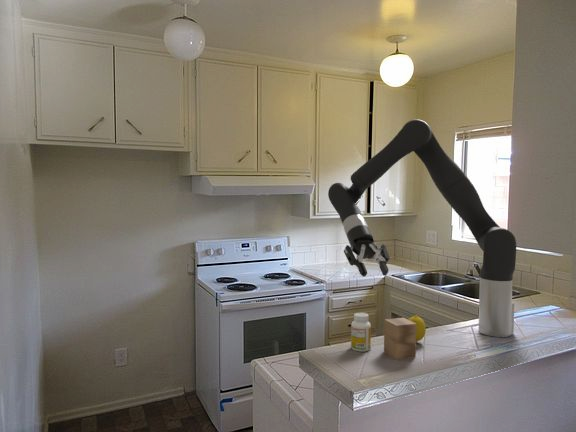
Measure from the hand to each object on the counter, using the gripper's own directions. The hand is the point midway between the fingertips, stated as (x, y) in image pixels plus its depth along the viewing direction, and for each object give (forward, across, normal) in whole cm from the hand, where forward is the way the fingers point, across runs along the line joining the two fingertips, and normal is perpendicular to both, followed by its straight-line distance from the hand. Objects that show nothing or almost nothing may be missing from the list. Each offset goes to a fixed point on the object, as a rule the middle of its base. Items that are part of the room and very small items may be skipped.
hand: (375, 274), depth 127 cm
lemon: (+18, +10, +9) cm, 23 cm away
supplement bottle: (+18, -8, +10) cm, 22 cm away
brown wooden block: (+23, 0, +4) cm, 23 cm away
